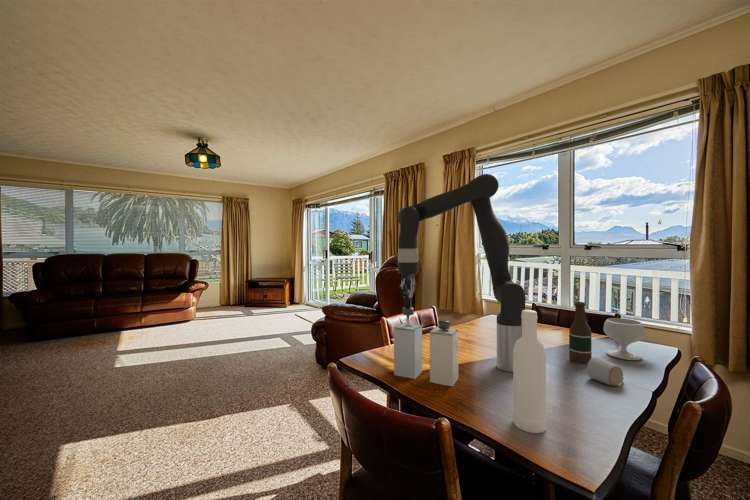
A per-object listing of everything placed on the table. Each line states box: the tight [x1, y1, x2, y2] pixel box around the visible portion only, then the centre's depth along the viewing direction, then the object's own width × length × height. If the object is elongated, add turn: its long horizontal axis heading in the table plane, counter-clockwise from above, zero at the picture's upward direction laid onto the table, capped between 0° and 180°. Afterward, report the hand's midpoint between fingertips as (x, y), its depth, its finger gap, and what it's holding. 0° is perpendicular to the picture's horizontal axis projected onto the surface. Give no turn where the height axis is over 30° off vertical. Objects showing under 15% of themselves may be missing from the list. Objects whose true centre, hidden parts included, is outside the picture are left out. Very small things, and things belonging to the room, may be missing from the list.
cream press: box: [429, 326, 459, 388], centre depth 112 cm, size 8×8×18 cm
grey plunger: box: [402, 306, 415, 327], centre depth 118 cm, size 6×6×15 cm
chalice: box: [603, 317, 646, 361], centre depth 135 cm, size 14×14×15 cm
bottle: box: [512, 309, 547, 434], centre depth 83 cm, size 8×8×30 cm
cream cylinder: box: [586, 356, 624, 387], centre depth 110 cm, size 11×8×8 cm
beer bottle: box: [568, 301, 593, 365], centre depth 130 cm, size 8×8×24 cm
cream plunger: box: [437, 319, 451, 332], centre depth 112 cm, size 6×6×15 cm
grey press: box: [393, 322, 423, 380], centre depth 118 cm, size 8×8×18 cm
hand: (408, 307), depth 118 cm, fingers closed
